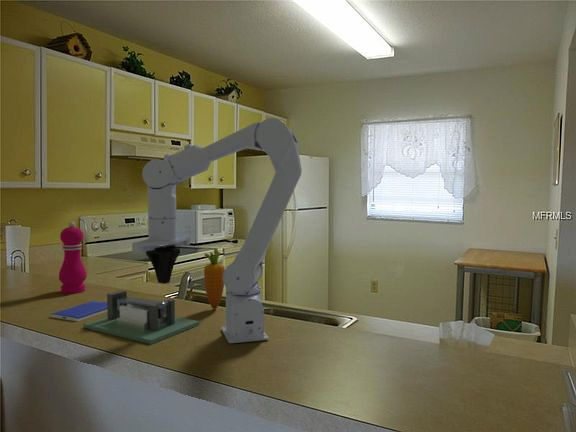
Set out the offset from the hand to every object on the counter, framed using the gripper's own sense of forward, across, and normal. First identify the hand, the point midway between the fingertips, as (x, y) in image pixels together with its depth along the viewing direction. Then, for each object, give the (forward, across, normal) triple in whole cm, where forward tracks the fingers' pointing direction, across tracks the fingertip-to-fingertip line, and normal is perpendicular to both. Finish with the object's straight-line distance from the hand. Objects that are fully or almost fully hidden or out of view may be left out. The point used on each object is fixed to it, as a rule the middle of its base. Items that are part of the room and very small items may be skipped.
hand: (163, 282), depth 94 cm
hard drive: (+11, 0, -26) cm, 28 cm away
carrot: (+10, -18, -1) cm, 20 cm away
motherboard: (+10, +1, -6) cm, 12 cm away
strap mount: (+9, +1, -7) cm, 11 cm away
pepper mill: (+10, -12, -47) cm, 50 cm away
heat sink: (+9, +1, -5) cm, 10 cm away
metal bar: (+7, +1, -5) cm, 9 cm away
